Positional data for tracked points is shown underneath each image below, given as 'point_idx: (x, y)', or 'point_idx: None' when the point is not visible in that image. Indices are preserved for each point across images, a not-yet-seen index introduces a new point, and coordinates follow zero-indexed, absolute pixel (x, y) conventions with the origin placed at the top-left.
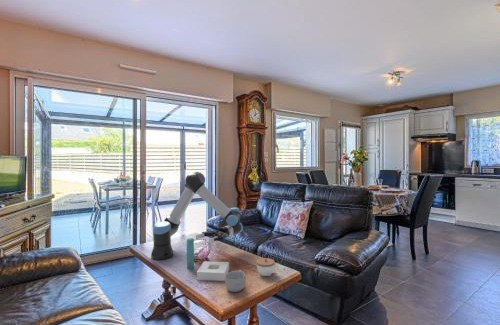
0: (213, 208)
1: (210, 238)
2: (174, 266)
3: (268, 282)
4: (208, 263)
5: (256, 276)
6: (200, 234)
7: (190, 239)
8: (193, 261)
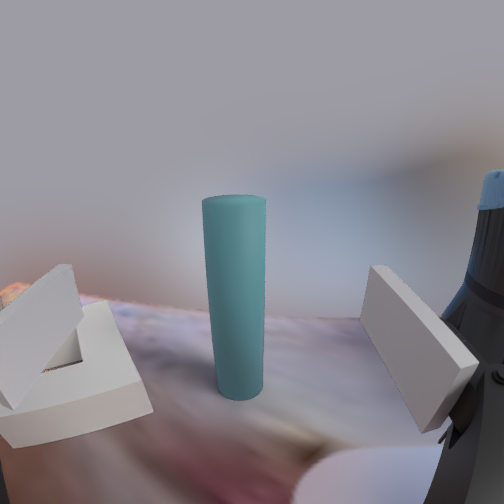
0: None
1: (59, 269)
2: (322, 347)
3: None
4: (95, 369)
5: None
6: (407, 309)
7: (227, 199)
8: (215, 359)
